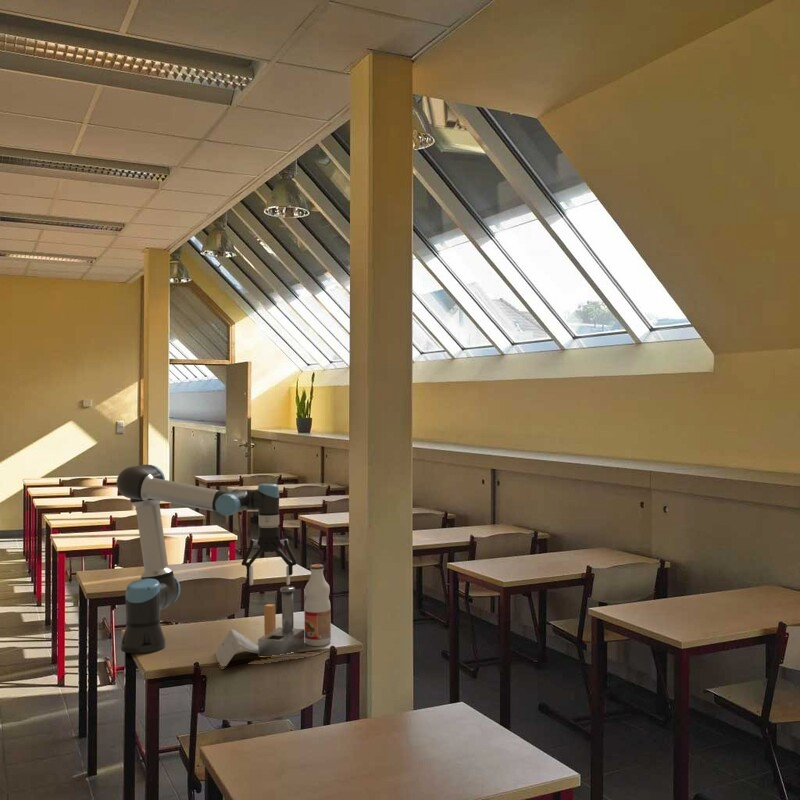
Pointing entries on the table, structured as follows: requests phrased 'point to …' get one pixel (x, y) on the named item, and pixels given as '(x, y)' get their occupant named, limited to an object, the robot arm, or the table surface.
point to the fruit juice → (317, 608)
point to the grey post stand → (283, 631)
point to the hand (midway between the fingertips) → (269, 584)
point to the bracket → (233, 646)
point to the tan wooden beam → (269, 618)
